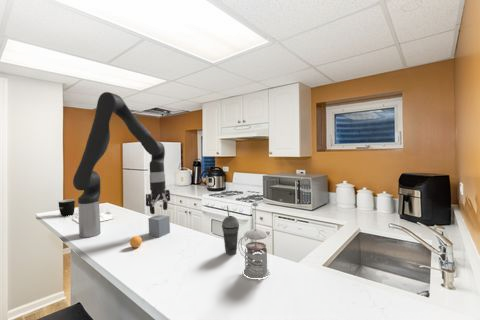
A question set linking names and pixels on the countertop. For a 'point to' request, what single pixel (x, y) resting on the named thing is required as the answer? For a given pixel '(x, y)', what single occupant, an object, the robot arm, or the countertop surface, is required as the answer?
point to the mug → (67, 207)
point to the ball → (135, 241)
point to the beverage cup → (230, 234)
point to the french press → (255, 267)
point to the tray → (102, 215)
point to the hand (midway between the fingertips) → (159, 211)
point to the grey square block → (159, 225)
